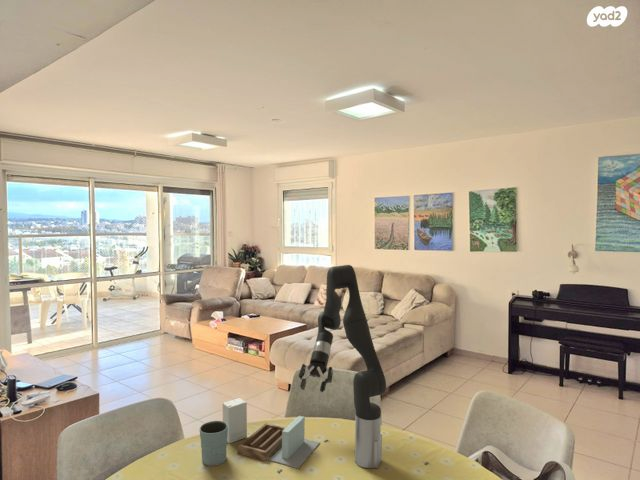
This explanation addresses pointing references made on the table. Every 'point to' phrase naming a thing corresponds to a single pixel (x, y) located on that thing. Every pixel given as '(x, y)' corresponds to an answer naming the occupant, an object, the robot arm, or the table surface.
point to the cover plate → (293, 437)
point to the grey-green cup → (213, 442)
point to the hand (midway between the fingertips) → (311, 390)
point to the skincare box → (235, 419)
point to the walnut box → (262, 442)
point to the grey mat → (296, 454)
